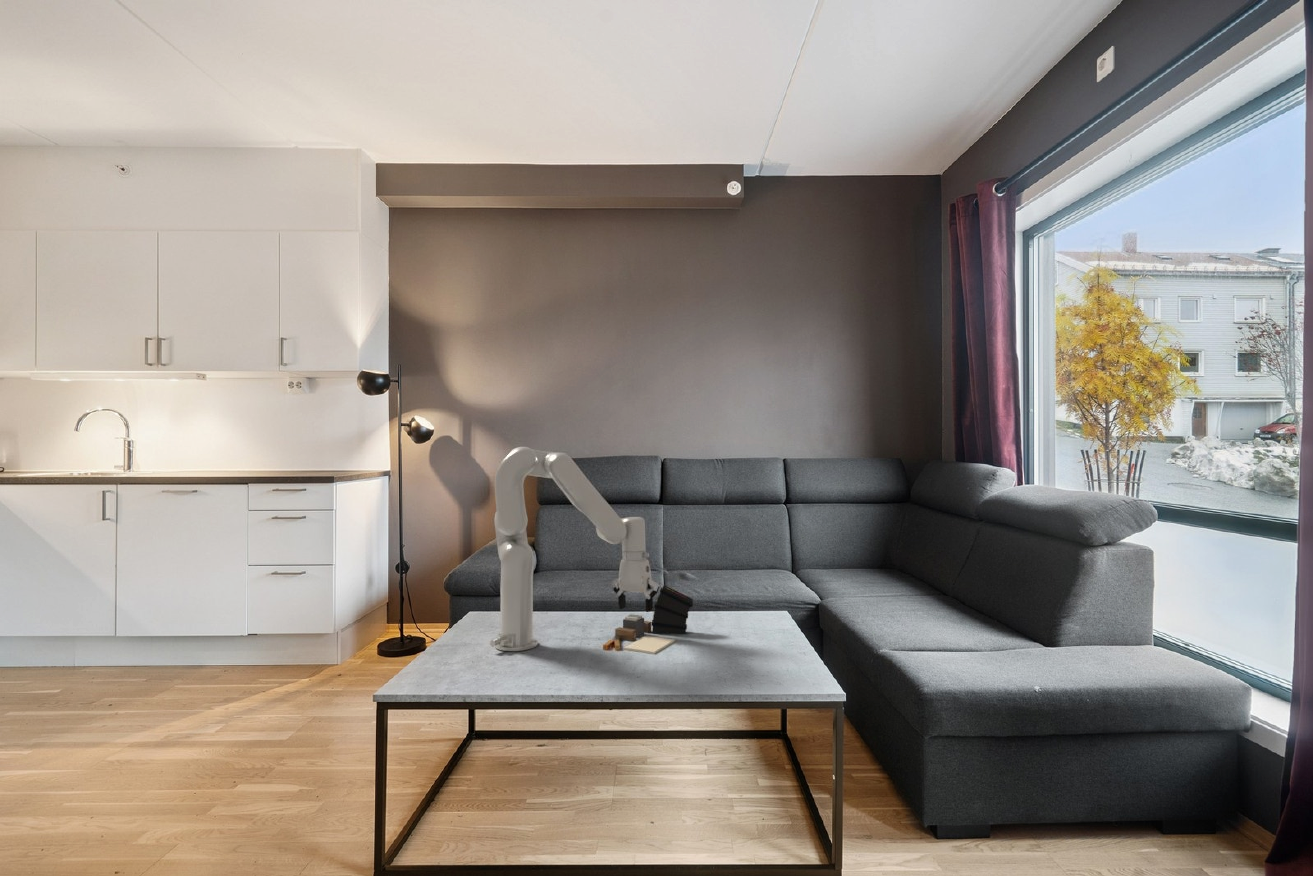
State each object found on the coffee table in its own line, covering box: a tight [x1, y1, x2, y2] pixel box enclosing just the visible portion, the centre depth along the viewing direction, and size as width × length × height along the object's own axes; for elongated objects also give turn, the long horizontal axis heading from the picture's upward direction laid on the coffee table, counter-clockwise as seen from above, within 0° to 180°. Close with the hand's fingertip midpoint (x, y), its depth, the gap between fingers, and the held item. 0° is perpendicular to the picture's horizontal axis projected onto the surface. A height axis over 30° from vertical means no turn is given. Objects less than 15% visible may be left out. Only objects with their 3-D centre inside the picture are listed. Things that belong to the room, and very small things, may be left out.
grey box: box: [622, 613, 645, 639], centre depth 207 cm, size 5×5×6 cm
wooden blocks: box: [614, 620, 652, 642], centre depth 207 cm, size 13×6×3 cm, turn 153°
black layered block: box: [651, 584, 694, 635], centre depth 210 cm, size 4×13×15 cm, turn 87°
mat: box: [623, 635, 676, 655], centre depth 195 cm, size 14×10×1 cm
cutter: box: [602, 635, 622, 651], centre depth 196 cm, size 11×5×1 cm, turn 173°
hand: (635, 609), depth 207 cm, fingers open, 9 cm apart
